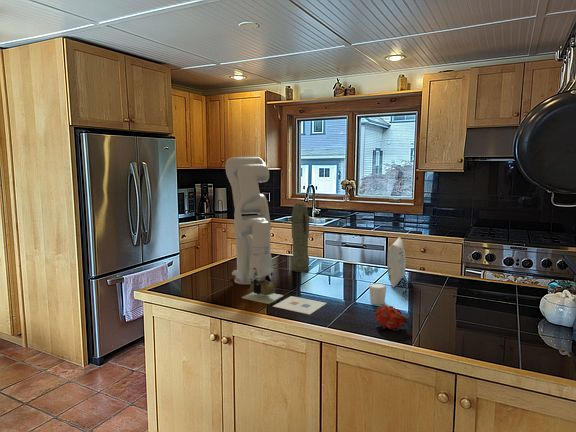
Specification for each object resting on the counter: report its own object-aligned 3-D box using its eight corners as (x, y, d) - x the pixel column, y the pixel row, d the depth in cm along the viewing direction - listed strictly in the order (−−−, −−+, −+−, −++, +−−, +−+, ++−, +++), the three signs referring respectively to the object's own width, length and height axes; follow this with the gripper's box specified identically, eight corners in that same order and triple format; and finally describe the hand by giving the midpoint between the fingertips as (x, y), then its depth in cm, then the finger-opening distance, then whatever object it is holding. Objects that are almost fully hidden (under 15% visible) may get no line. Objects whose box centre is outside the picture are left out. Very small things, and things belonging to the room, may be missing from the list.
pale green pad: (241, 298, 176) (241, 297, 176) (257, 290, 185) (257, 290, 185) (268, 304, 168) (268, 303, 168) (283, 296, 178) (283, 295, 177)
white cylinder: (387, 300, 171) (387, 283, 170) (385, 305, 165) (385, 288, 164) (370, 298, 173) (370, 282, 172) (367, 304, 167) (368, 287, 166)
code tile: (272, 306, 166) (272, 305, 165) (291, 296, 177) (291, 295, 177) (309, 314, 156) (309, 314, 156) (326, 303, 168) (326, 302, 168)
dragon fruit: (372, 326, 148) (405, 339, 142) (366, 320, 142) (400, 333, 135) (381, 305, 151) (413, 316, 144) (375, 297, 144) (409, 309, 138)
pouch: (409, 277, 202) (410, 237, 199) (400, 289, 185) (401, 245, 182) (392, 275, 205) (393, 236, 202) (382, 286, 189) (383, 243, 186)
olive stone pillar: (303, 273, 211) (303, 205, 206) (286, 269, 219) (285, 203, 214) (314, 269, 218) (314, 203, 213) (297, 266, 226) (297, 202, 221)
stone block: (265, 297, 170) (265, 285, 169) (249, 290, 179) (248, 279, 178) (276, 293, 174) (276, 282, 173) (259, 287, 183) (259, 276, 182)
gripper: (266, 245, 183) (267, 284, 186) (241, 253, 169) (242, 295, 171) (280, 247, 179) (281, 286, 182) (256, 255, 165) (257, 298, 167)
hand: (262, 290), depth 176 cm, fingers closed on stone block, 7 cm apart
